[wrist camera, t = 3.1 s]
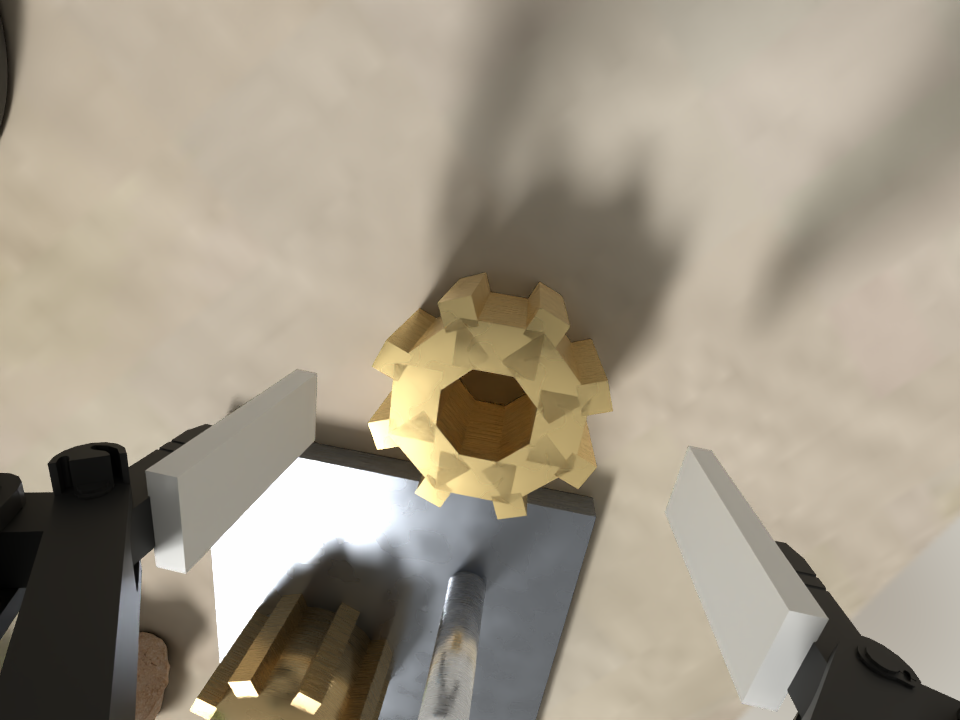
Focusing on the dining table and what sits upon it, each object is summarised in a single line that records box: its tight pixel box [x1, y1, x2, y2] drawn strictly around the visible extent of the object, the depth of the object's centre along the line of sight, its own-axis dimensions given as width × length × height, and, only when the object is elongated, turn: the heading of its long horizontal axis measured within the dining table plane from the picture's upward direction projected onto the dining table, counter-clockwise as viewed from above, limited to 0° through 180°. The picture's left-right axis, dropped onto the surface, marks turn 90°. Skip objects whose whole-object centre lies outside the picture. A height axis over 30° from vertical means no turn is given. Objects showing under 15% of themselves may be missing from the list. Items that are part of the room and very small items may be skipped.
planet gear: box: [368, 272, 613, 519], centre depth 19 cm, size 9×9×5 cm
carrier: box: [190, 443, 596, 720], centre depth 23 cm, size 20×20×8 cm
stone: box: [135, 632, 170, 720], centre depth 30 cm, size 9×11×5 cm
